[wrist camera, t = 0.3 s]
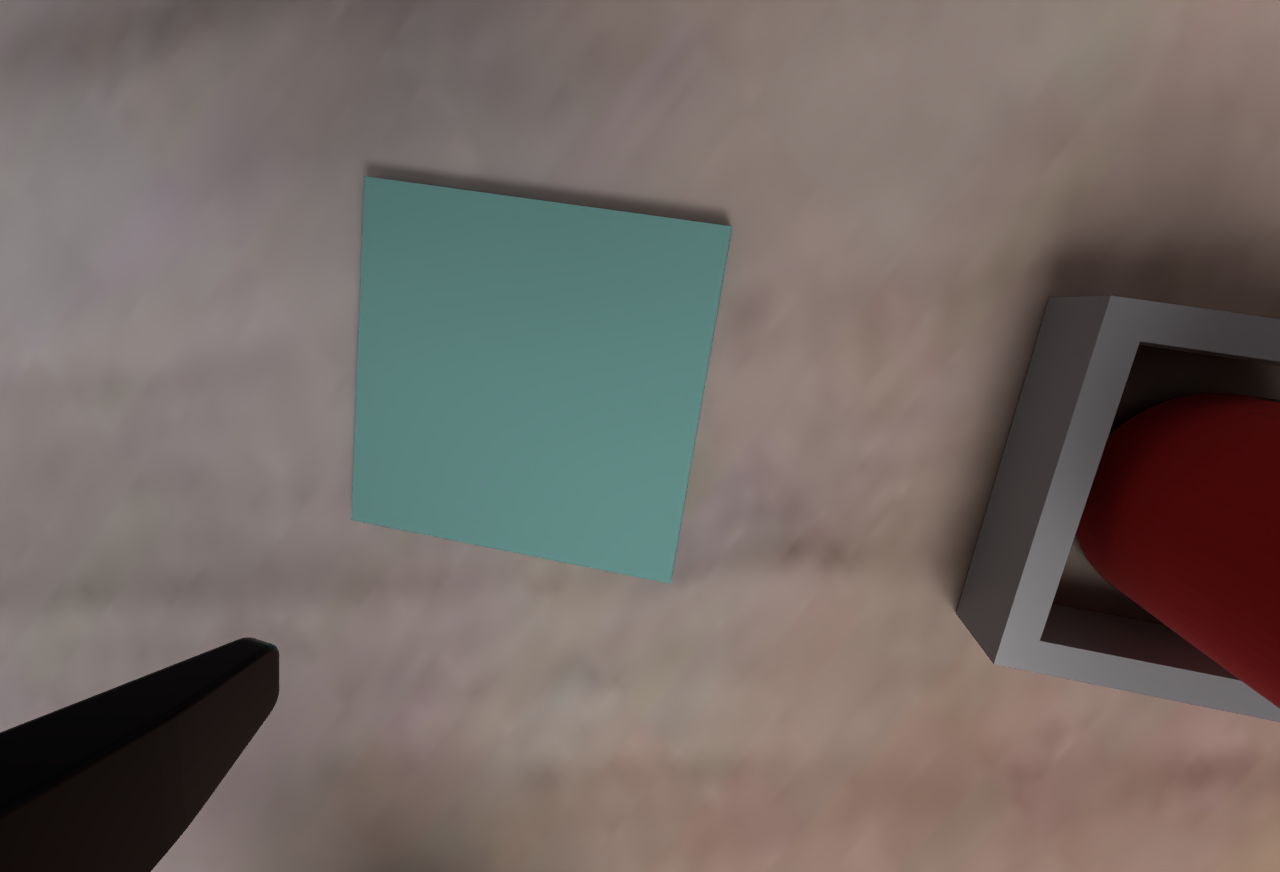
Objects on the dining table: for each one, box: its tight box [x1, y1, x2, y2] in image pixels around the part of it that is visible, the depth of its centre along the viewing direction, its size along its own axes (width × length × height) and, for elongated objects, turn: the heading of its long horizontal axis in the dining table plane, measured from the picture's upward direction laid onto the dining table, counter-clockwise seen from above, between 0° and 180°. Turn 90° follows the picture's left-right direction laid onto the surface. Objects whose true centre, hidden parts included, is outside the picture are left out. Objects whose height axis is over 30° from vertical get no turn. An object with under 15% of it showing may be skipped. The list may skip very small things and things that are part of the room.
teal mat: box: [351, 176, 732, 584], centre depth 21 cm, size 12×12×1 cm
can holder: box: [956, 295, 1280, 722], centre depth 17 cm, size 11×11×3 cm
